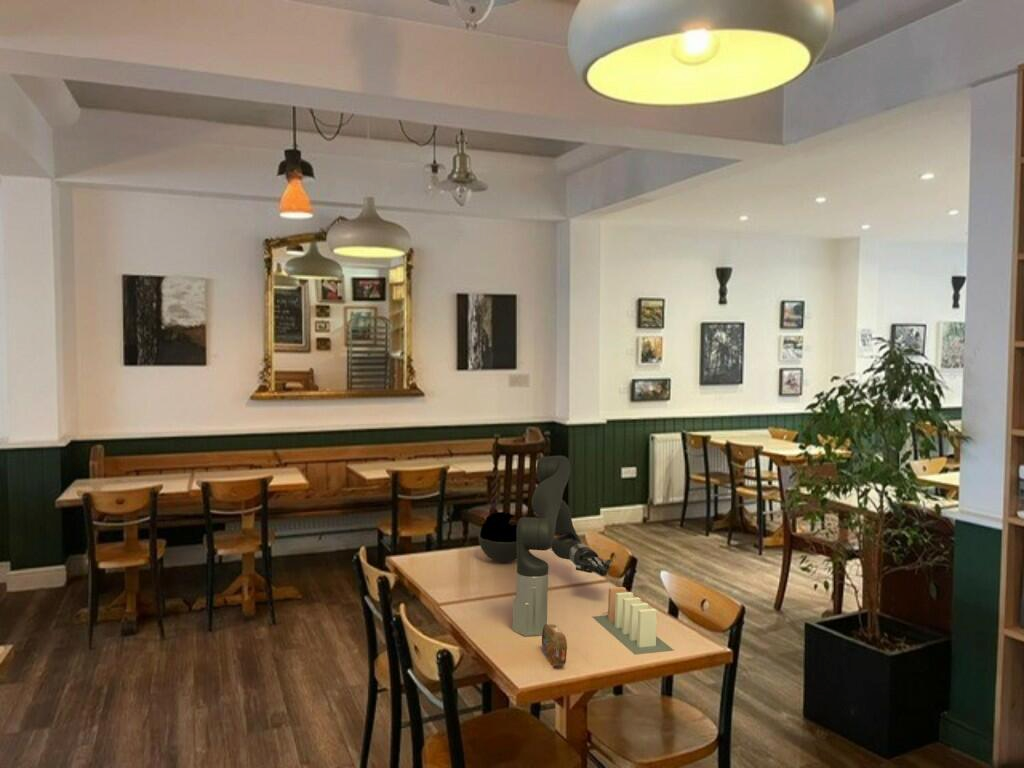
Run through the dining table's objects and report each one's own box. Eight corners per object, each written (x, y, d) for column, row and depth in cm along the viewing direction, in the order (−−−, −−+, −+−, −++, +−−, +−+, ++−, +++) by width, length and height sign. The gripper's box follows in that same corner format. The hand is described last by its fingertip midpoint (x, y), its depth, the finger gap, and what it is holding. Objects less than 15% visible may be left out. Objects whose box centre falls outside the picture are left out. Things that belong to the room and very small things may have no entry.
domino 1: (607, 620, 231) (608, 588, 231) (622, 619, 233) (623, 586, 232) (609, 622, 230) (610, 589, 229) (625, 620, 231) (626, 588, 231)
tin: (540, 649, 209) (541, 619, 208) (551, 648, 210) (552, 618, 209) (556, 672, 194) (557, 639, 194) (568, 671, 195) (569, 639, 195)
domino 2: (614, 626, 226) (615, 593, 226) (629, 624, 228) (630, 591, 227) (616, 628, 225) (617, 594, 224) (632, 626, 226) (633, 593, 226)
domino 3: (621, 632, 222) (622, 598, 221) (637, 630, 223) (638, 597, 223) (624, 634, 220) (625, 600, 220) (639, 632, 221) (640, 599, 221)
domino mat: (591, 618, 234) (591, 616, 234) (627, 615, 238) (627, 613, 238) (634, 656, 205) (634, 654, 205) (674, 652, 209) (674, 650, 209)
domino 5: (637, 645, 212) (638, 609, 212) (653, 643, 213) (654, 608, 213) (639, 647, 210) (640, 611, 210) (655, 645, 212) (656, 610, 211)
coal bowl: (507, 552, 309) (508, 506, 308) (540, 563, 293) (541, 515, 293) (467, 559, 296) (468, 512, 295) (499, 572, 281) (500, 521, 280)
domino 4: (629, 638, 217) (630, 604, 216) (645, 637, 218) (646, 602, 218) (631, 640, 215) (632, 605, 215) (647, 639, 217) (648, 604, 216)
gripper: (565, 547, 255) (585, 562, 238) (601, 545, 259) (623, 559, 242) (565, 569, 255) (584, 586, 239) (601, 566, 259) (623, 582, 243)
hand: (604, 572), depth 240 cm, fingers closed
